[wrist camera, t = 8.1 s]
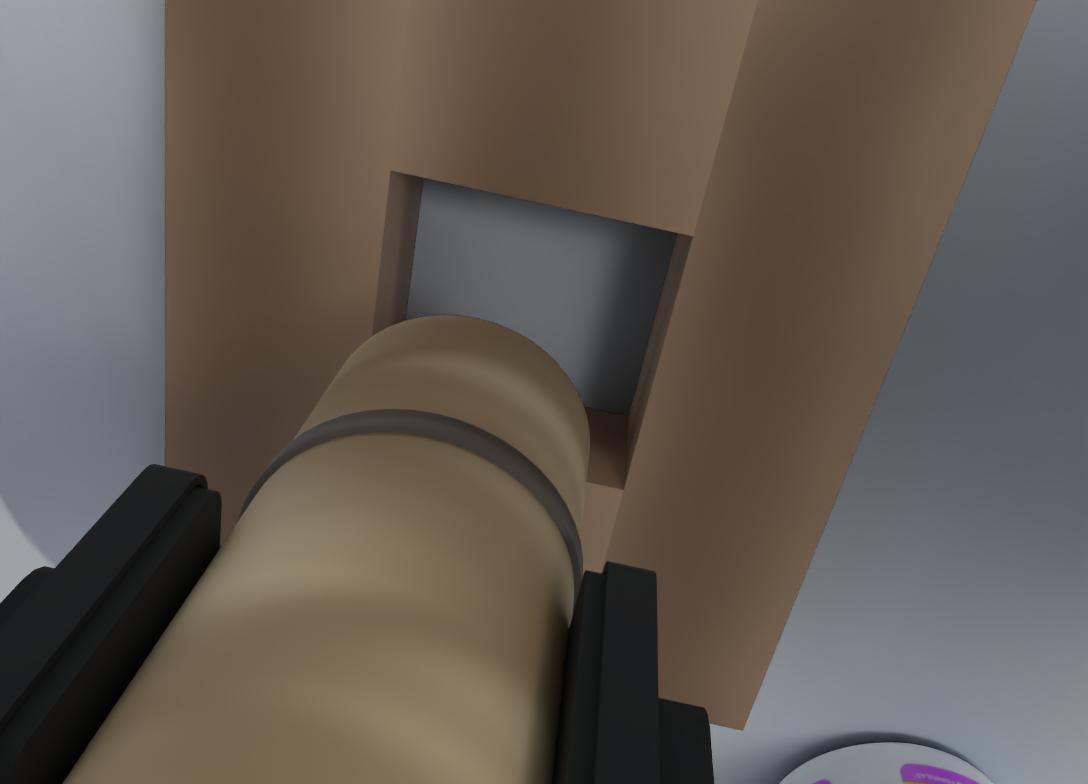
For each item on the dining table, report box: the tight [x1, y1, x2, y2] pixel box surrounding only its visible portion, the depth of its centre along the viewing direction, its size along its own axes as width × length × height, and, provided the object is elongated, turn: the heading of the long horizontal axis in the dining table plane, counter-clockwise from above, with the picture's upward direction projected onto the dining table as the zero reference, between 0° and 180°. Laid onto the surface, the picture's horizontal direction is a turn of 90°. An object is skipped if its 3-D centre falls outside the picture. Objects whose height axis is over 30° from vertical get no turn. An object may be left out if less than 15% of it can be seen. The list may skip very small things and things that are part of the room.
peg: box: [62, 315, 590, 784], centre depth 9 cm, size 4×4×12 cm
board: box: [165, 0, 1037, 731], centre depth 18 cm, size 13×16×3 cm
